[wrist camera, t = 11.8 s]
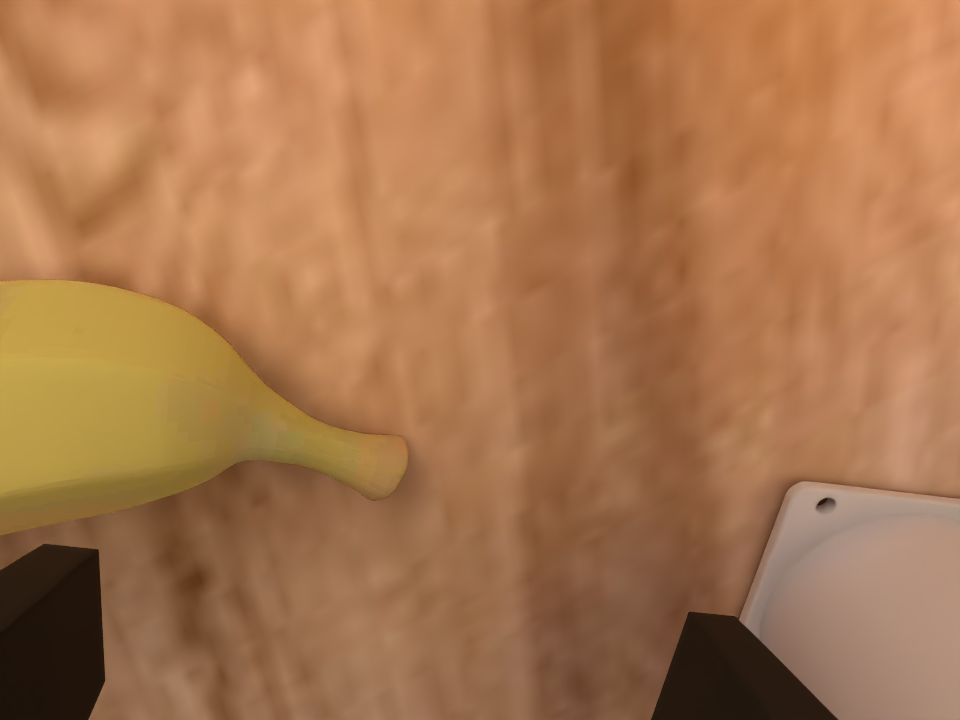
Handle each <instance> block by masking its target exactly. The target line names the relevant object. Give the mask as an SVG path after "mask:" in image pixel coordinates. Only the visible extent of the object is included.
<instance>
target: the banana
mask: <svg viewBox="0 0 960 720" xmlns="http://www.w3.org/2000/svg"><path fill="white" fill-rule="evenodd" d="M246 460H261V461H271V462H280V463H288V464H295V465H301V466H304V467H308V468H311V469H314V470H316V471H318V472H321V473H323V474H325V475H328V476H330V477H332V478H334V479H336V480H337V481H339V482H341V483H343V484H345V485H347V486H348V487H350V488H352V489H354V490H355V491H357V492H358V493H360V494H361V495H363V496H364V497H366V498H367V499H369V500H372V501H376V500H381V499H384V498H386V497H388V496H389V495H390V494H391V493H392V492H393V491H394V490H395V489H396V487H397V486H398V484H399V483H400V481H401V479H402V477H403V476H404V474H405V472H406V469H407V465H408V446H407V441H406V439H405V438H404V437H402V436H399V435H378V434H366V433H360V432H355V431H349V430H345V429H340V428H337V427H334V426H331V425H328V424H325V423H322V422H320V421H318V420H316V419H314V418H312V417H311V416H309V415H307V414H306V413H304V412H303V411H301V410H300V409H298V408H297V407H295V406H294V405H292V404H291V403H289V402H288V401H287V400H285V399H284V398H282V397H281V396H279V395H278V394H277V393H275V392H274V391H273V390H272V389H270V388H269V387H268V386H267V385H266V384H265V383H264V382H263V381H262V380H261V379H260V378H259V377H258V376H257V375H256V374H255V373H254V372H253V371H252V369H251V368H250V367H249V366H248V365H247V363H246V362H245V361H244V360H243V359H242V358H241V356H240V355H239V354H238V353H237V352H236V351H235V350H234V349H233V347H232V346H231V345H230V344H229V343H228V342H227V341H226V340H225V339H223V338H222V337H221V336H220V335H219V334H218V333H217V332H215V331H214V330H213V329H212V328H210V327H209V326H208V325H206V324H205V323H203V322H202V321H201V320H199V319H198V318H196V317H195V316H193V315H191V314H190V313H188V312H186V311H184V310H182V309H180V308H178V307H176V306H174V305H171V304H169V303H166V302H164V301H161V300H158V299H155V298H153V297H150V296H146V295H143V294H139V293H136V292H133V291H129V290H125V289H121V288H117V287H112V286H107V285H102V284H96V283H89V282H82V281H72V280H52V279H46V280H13V281H1V282H0V535H4V534H8V533H13V532H17V531H22V530H27V529H32V528H37V527H42V526H47V525H52V524H57V523H62V522H68V521H73V520H78V519H83V518H88V517H93V516H98V515H103V514H107V513H112V512H116V511H120V510H124V509H127V508H131V507H135V506H138V505H142V504H145V503H148V502H151V501H154V500H157V499H160V498H164V497H167V496H170V495H173V494H176V493H179V492H182V491H185V490H187V489H190V488H192V487H195V486H197V485H200V484H202V483H204V482H206V481H208V480H210V479H212V478H214V477H215V476H217V475H218V474H220V473H221V472H223V471H224V470H226V469H227V468H229V467H230V466H232V465H233V464H236V463H238V462H241V461H246Z"/></svg>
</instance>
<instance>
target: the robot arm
mask: <svg viewBox="0 0 960 720" xmlns="http://www.w3.org/2000/svg"><path fill="white" fill-rule="evenodd" d="M824 498H828V500H827V501H826V502H825V503H824V504H822V505H819V506H817V504H818V503H819V501H820V500H822V499H824ZM104 682H105V668H104V648H103V628H102V608H101V588H100V568H99V550H98V549H88V548H79V547H69V546H60V545H50V544H43V545H42V546H40V547H38V548H36V549H35V550H33V551H31V552H30V553H28V554H26V555H25V556H23V557H21V558H20V559H18V560H17V561H15V562H13V563H12V564H10V565H9V566H7V567H5V568H4V569H2V570H1V571H0V720H88V719H89V717H90V715H91V712H92V710H93V708H94V705H95V703H96V701H97V698H98V696H99V694H100V692H101V689H102V687H103V685H104ZM651 720H960V499H957V498H948V497H940V496H931V495H923V494H914V493H905V492H897V491H888V490H880V489H871V488H863V487H854V486H846V485H837V484H829V483H820V482H812V481H803V482H799V483H797V484H794V485H793V486H792V487H791V488H789V490H788V491H787V493H786V494H785V497H784V500H783V502H782V505H781V508H780V510H779V513H778V516H777V519H776V521H775V524H774V527H773V529H772V532H771V535H770V537H769V540H768V543H767V545H766V548H765V551H764V553H763V556H762V559H761V561H760V564H759V567H758V570H757V572H756V575H755V578H754V580H753V583H752V586H751V588H750V591H749V594H748V596H747V599H746V602H745V604H744V607H743V610H742V613H741V615H740V618H739V620H738V619H737V618H736V617H735V616H726V615H716V614H707V613H697V612H689V613H688V616H687V619H686V622H685V624H684V627H683V630H682V633H681V636H680V639H679V642H678V644H677V647H676V650H675V653H674V656H673V659H672V662H671V664H670V667H669V670H668V673H667V676H666V679H665V682H664V684H663V687H662V690H661V693H660V696H659V699H658V702H657V704H656V707H655V710H654V713H653V716H652V719H651Z"/></svg>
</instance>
